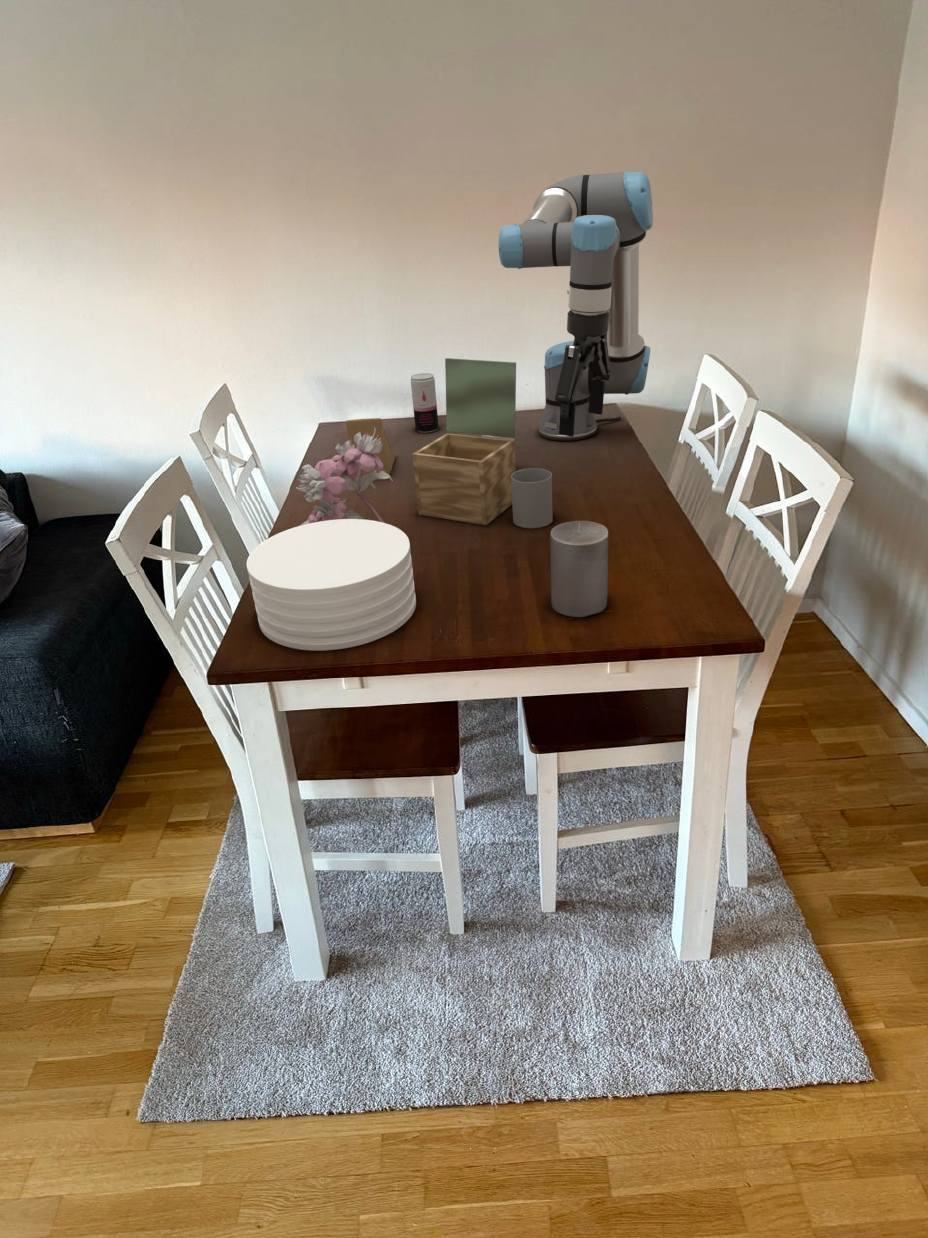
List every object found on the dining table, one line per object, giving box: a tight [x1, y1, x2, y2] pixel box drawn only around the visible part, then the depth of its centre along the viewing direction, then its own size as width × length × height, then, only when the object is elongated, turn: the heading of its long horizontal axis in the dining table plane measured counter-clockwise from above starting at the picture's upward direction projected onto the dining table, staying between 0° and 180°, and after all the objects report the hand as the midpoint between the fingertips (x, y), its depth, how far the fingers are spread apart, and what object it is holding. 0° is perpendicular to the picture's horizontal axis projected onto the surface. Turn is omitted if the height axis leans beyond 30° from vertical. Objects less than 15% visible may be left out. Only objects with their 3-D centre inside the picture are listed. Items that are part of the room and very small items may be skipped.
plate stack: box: [246, 518, 417, 652], centre depth 152 cm, size 28×28×12 cm
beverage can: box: [410, 372, 439, 434], centre depth 240 cm, size 7×7×15 cm
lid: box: [444, 357, 517, 439], centre depth 187 cm, size 16×17×1 cm
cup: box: [511, 467, 553, 529], centre depth 181 cm, size 8×8×10 cm
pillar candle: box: [549, 520, 609, 618], centre depth 147 cm, size 10×10×15 cm
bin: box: [412, 432, 517, 526], centre depth 189 cm, size 15×17×14 cm
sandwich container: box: [345, 417, 396, 476], centre depth 215 cm, size 9×15×15 cm, turn 177°
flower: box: [295, 428, 394, 526], centre depth 176 cm, size 20×22×25 cm
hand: (581, 423), depth 168 cm, fingers open, 13 cm apart
